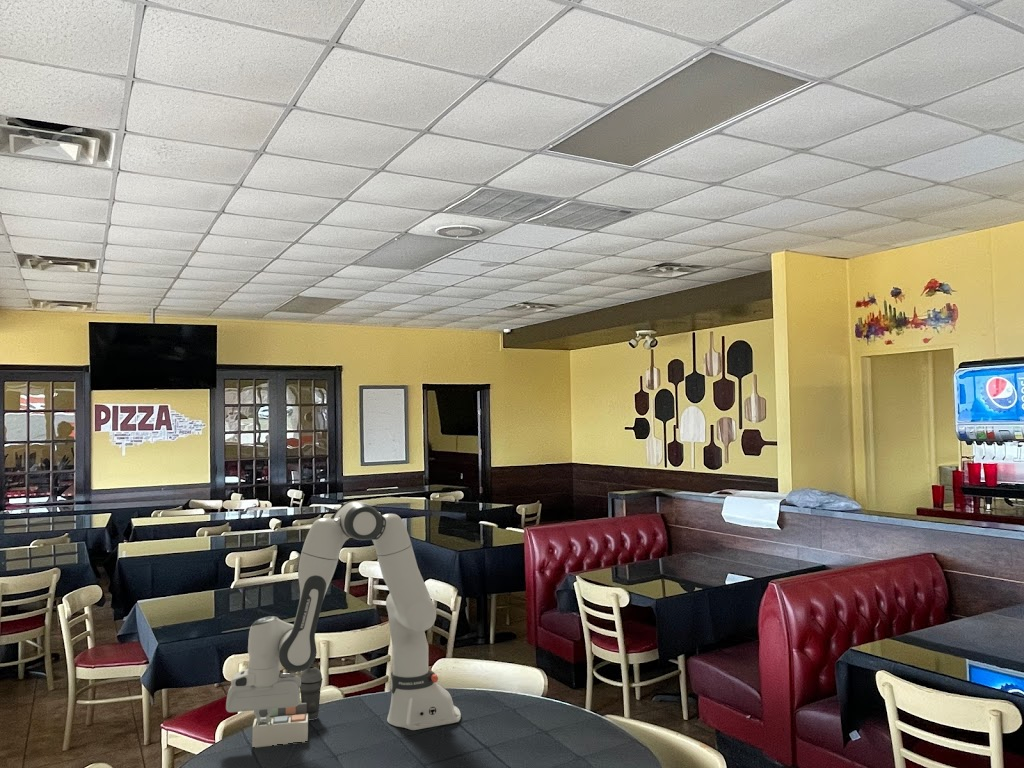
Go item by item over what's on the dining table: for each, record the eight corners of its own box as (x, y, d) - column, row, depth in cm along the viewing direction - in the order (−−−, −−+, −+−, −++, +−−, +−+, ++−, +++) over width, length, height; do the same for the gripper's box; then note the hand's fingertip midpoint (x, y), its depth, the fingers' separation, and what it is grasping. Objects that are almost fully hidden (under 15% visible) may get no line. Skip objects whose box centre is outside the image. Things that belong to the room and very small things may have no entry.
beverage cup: (315, 723, 231) (316, 656, 232) (293, 721, 232) (294, 655, 234) (326, 714, 238) (326, 649, 239) (304, 713, 240) (305, 648, 241)
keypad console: (308, 730, 226) (308, 702, 226) (307, 741, 217) (307, 713, 218) (255, 735, 222) (255, 707, 223) (252, 747, 214) (252, 718, 214)
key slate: (287, 722, 221) (287, 715, 221) (287, 727, 218) (287, 720, 218) (274, 724, 220) (274, 717, 220) (273, 728, 217) (274, 721, 217)
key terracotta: (304, 721, 222) (304, 714, 223) (304, 725, 219) (304, 718, 219) (291, 722, 222) (292, 715, 222) (291, 727, 218) (291, 719, 218)
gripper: (301, 668, 224) (301, 716, 223) (228, 674, 219) (227, 723, 219) (300, 675, 218) (300, 724, 217) (225, 681, 213) (224, 732, 212)
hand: (263, 724), depth 218 cm, fingers closed, pressing on key sage
